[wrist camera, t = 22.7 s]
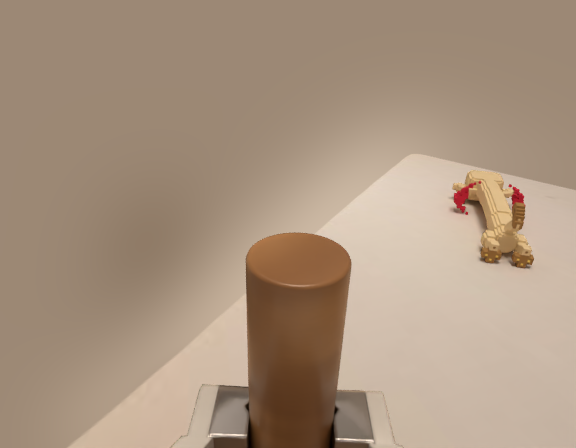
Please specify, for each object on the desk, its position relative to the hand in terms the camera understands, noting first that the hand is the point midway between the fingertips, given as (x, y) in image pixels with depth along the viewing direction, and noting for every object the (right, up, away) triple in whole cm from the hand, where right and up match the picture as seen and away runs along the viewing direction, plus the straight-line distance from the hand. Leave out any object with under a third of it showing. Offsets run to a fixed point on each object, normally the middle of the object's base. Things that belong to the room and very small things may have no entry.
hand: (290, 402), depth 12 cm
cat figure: (+30, +5, +49) cm, 58 cm away
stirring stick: (0, -13, +6) cm, 15 cm away
